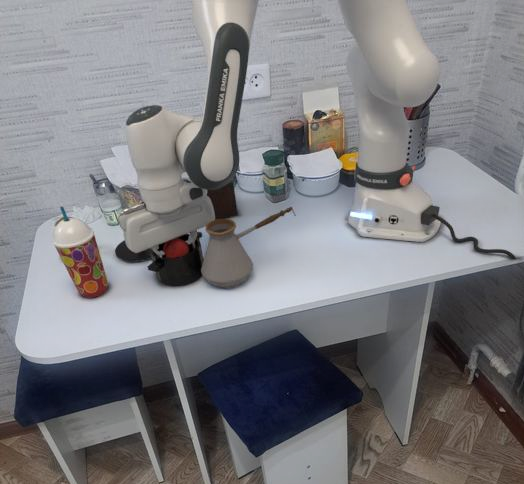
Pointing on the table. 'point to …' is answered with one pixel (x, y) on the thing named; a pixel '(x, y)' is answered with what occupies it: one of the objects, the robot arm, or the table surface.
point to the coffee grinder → (223, 201)
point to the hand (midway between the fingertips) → (177, 254)
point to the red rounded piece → (175, 248)
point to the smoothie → (80, 256)
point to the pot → (178, 265)
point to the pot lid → (130, 253)
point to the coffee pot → (229, 252)
